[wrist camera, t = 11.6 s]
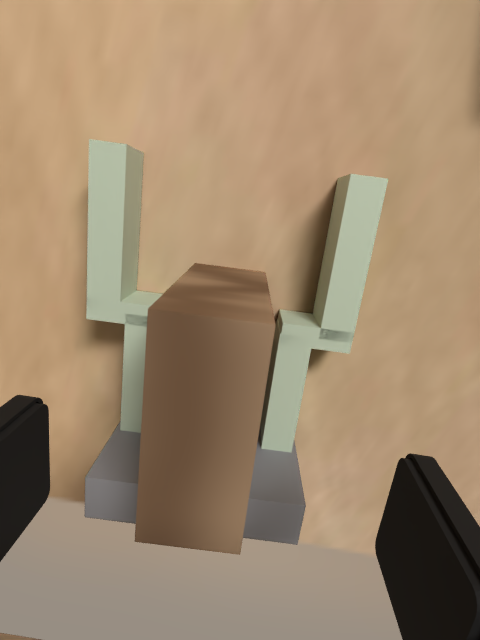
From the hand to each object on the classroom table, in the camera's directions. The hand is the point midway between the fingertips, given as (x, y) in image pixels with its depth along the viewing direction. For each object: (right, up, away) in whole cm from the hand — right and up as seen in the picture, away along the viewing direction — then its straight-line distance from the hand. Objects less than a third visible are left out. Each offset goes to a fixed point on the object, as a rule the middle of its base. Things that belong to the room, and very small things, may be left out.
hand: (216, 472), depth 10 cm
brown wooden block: (0, +3, +10) cm, 10 cm away
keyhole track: (0, +4, +10) cm, 10 cm away
